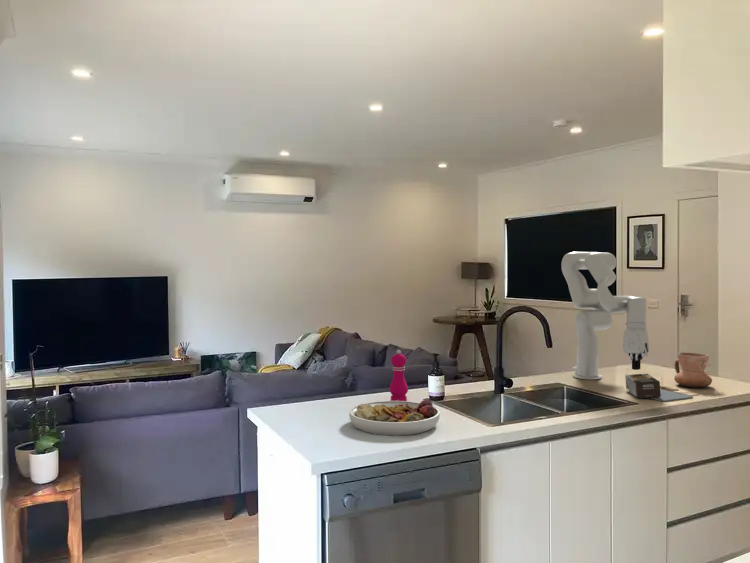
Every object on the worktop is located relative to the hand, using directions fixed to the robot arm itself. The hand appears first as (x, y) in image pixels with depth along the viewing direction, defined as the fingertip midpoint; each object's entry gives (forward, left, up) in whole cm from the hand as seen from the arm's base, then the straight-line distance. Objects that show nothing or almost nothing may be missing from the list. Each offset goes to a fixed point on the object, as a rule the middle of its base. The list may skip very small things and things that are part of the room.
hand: (636, 369), depth 253 cm
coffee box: (+1, -1, -5) cm, 5 cm away
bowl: (+7, -117, -9) cm, 118 cm away
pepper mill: (-24, -100, -9) cm, 103 cm away
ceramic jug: (+4, +29, -9) cm, 31 cm away
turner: (+8, +13, -9) cm, 17 cm away
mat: (+12, 0, -9) cm, 15 cm away
